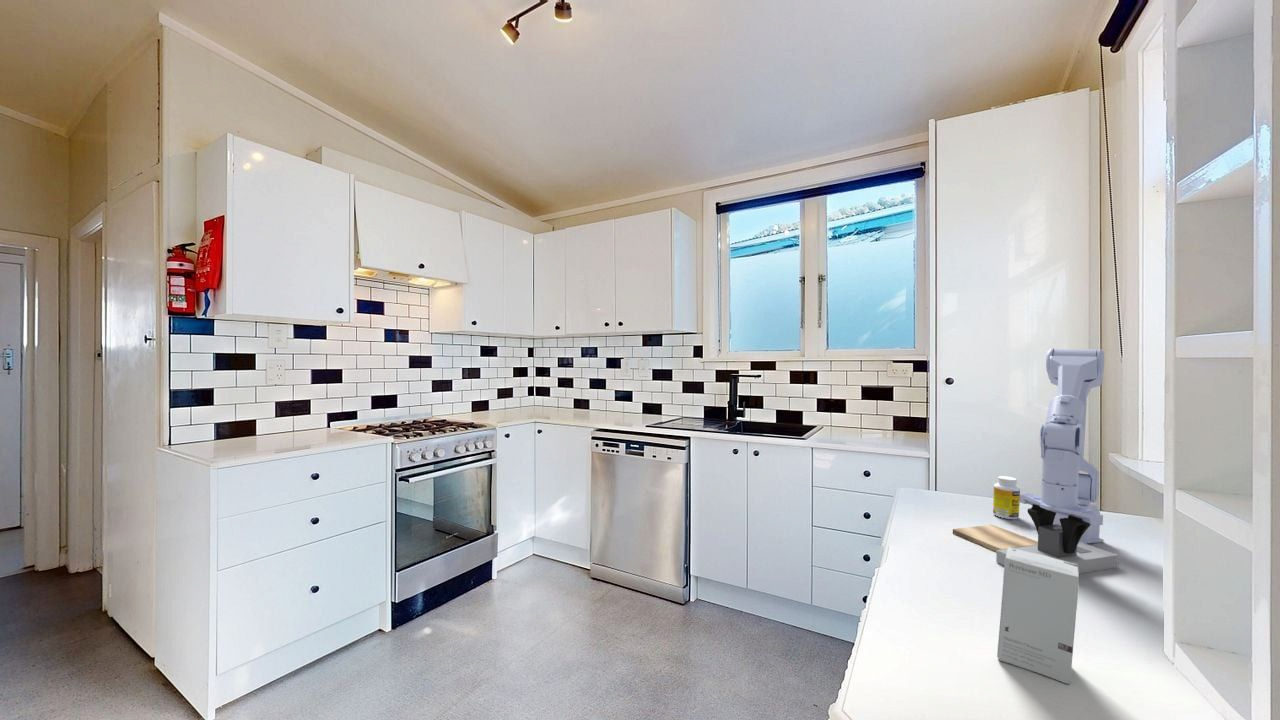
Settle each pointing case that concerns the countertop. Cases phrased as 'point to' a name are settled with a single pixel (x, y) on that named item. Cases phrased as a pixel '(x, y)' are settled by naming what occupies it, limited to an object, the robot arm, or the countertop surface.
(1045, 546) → the block
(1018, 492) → the supplement bottle
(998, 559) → the power strip
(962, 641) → the countertop surface
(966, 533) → the oak board
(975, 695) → the countertop surface
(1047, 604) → the skincare box
